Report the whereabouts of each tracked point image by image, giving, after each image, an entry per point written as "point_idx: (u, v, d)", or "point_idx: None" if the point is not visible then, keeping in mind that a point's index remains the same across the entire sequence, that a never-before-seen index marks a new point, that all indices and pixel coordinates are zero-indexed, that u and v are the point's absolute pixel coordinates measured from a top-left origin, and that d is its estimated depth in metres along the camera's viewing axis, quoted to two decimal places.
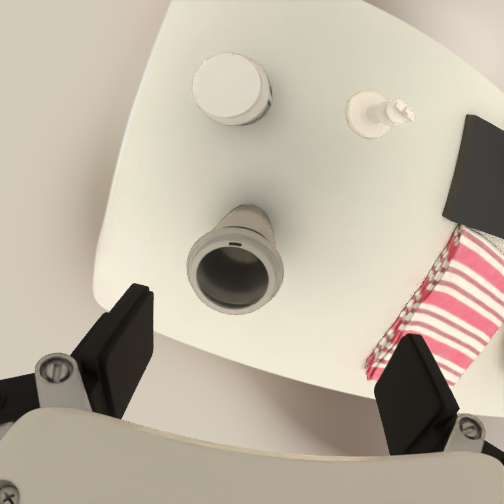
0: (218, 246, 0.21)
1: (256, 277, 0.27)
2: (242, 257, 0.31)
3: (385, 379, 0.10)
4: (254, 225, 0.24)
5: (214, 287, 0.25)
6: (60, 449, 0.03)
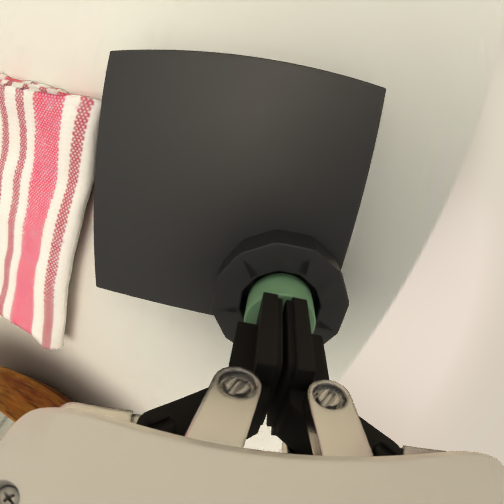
0: None
1: None
2: None
3: None
4: None
5: None
6: (60, 449, 0.03)
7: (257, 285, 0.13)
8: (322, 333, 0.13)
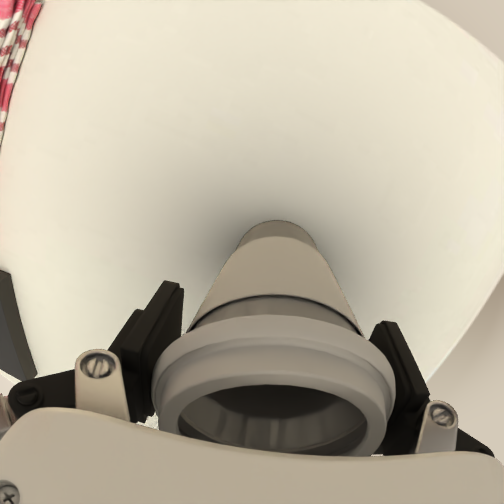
0: None
1: None
2: None
3: None
4: None
5: None
6: (60, 449, 0.03)
7: None
8: None
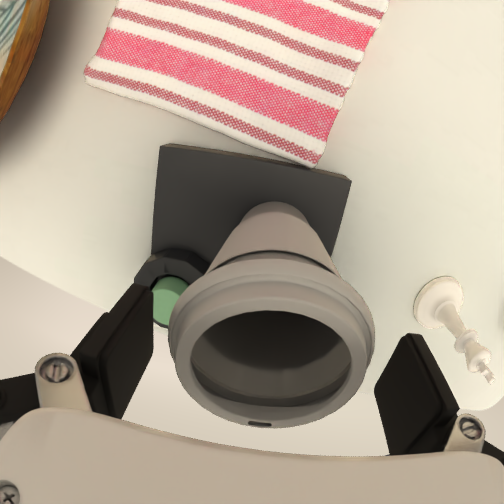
0: (291, 421, 0.10)
1: None
2: None
3: (385, 379, 0.10)
4: None
5: None
6: (60, 449, 0.03)
7: (185, 286, 0.20)
8: None
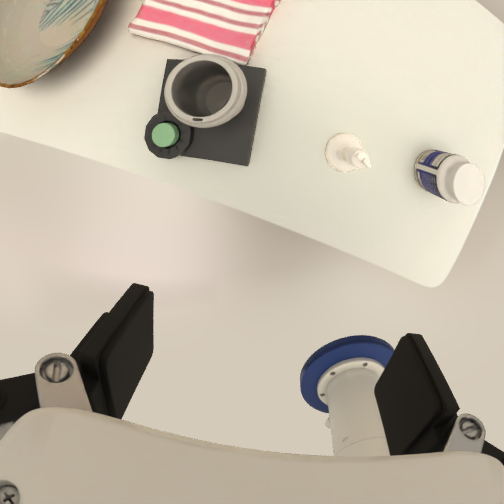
0: (211, 116, 0.23)
1: (199, 72, 0.26)
2: (223, 77, 0.30)
3: (385, 379, 0.10)
4: (198, 120, 0.27)
5: None
6: (60, 449, 0.03)
7: (174, 126, 0.33)
8: (157, 151, 0.35)
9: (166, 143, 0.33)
